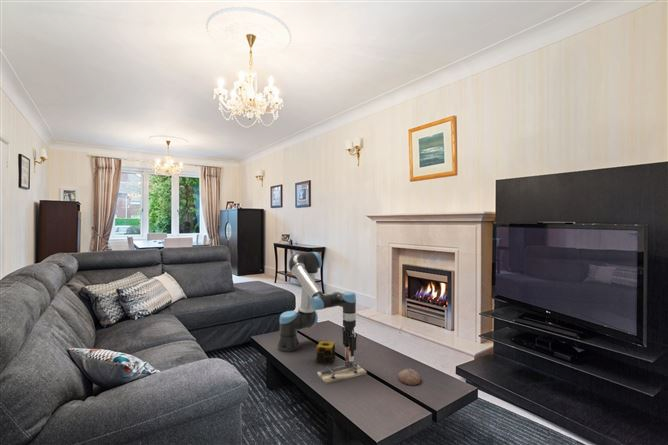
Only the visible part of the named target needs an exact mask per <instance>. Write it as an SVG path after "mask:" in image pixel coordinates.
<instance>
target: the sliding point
mask: <svg viewBox="0 0 668 445" xmlns="http://www.w3.org/2000/svg"><path fill="white" fill-rule="evenodd" d="M349 350H350V346H346V359H345V360H344V365H347V366H349V365H351V366H352V367H353V368H354V369H355V372H356V370H357V367H355V366H354V363H355V360H354V361H352V362H349Z"/></svg>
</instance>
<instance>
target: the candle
mask: <svg viewBox="0 0 668 445" xmlns="http://www.w3.org/2000/svg"><path fill="white" fill-rule="evenodd" d="M335 359H336V342H335V341H328V340H327V341H325V340H320V341H319V342H318V344H317V345H316V359H315V361H316V364H322V365H323V364H328V365H333V364H334V361H335Z"/></svg>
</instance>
